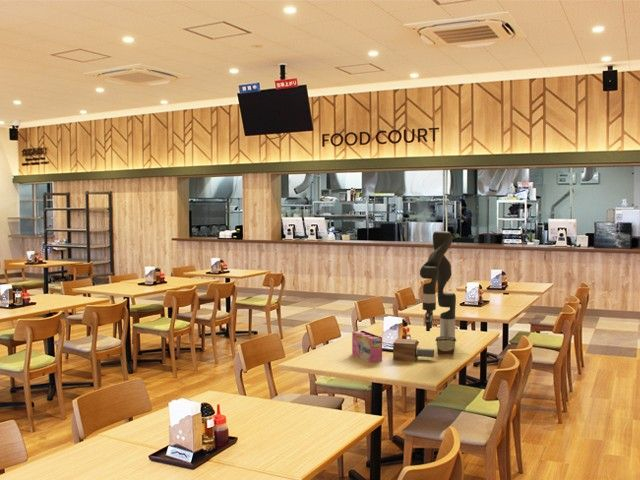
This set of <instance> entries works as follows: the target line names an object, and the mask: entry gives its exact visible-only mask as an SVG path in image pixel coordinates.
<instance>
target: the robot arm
mask: <svg viewBox="0 0 640 480" xmlns="http://www.w3.org/2000/svg"><path fill="white" fill-rule="evenodd" d="M452 243H453V234H452V233H451V231H445V230H444V231H441V230H440V231H439V230H436V231H434V232H433V234H432V244H433V245H432V246H433V251H432V252H431V253H430V254H429V256H428V259H427V261H425V263H424V264H423V265H422V266H421V268H420V269H419V275H420V277H421V278H422V279H425V280H427V279H428V280H429V279H430V282H425V283H424V282H423V284H422V285H423V286H422V310H423V311H425V314H424V316H425V317H424V318H425V319H424V321H425V322H424V323H425V331H426V332H430V331H431V329H433V320H434V313H433V312H434V311H436V309H437V303H438V306H439V307H440V308H448V309H449V310H447V311H443V312H441V313H440V314H439V315H440V316H439V318H440V319H439V323H440V324H439V325H440V327H439V329H440V330H439V332H440V333H439V337H440V336H449V337H454V338H456V303H457V296H456V293H455V292H444V288H445V287H446V286H447V284H448V282H449V281H450V279H451V277H452V264H451V262H450V260H449V259H448V258H447V256H446V253H447V252H448V250H449V249H450V247H451V245H452ZM436 287H437V288H436ZM436 289H437V292H436ZM436 293H437V296H436Z"/></svg>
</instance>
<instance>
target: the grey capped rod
mask: <svg viewBox="0 0 640 480" xmlns="http://www.w3.org/2000/svg"><path fill="white" fill-rule="evenodd" d="M415 355H416V359H417V358H419V357H422V358H435V349H434V348H420V347H418V346H417V347H416V353H415Z"/></svg>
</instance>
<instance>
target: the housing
mask: <svg viewBox="0 0 640 480" xmlns="http://www.w3.org/2000/svg"><path fill="white" fill-rule="evenodd" d="M416 347H418V339H414V338H413V339H411V338H409V339H407V338H406V339H405V338H396V339H395V340H394V341H393V344H392V361H398V362H400V361H401V362H403V361H404V362H413V363H414V362H415V361H416V360H417V358H416V355H415V353H416Z"/></svg>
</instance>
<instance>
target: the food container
mask: <svg viewBox="0 0 640 480" xmlns="http://www.w3.org/2000/svg"><path fill="white" fill-rule="evenodd" d="M434 342H436V352H437V355H438V356H454V355H455V348H456V342H457V338H456V337H455V338H454V337H449V336H440V335H439V336H437V337H436V338H435V341H434Z"/></svg>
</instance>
